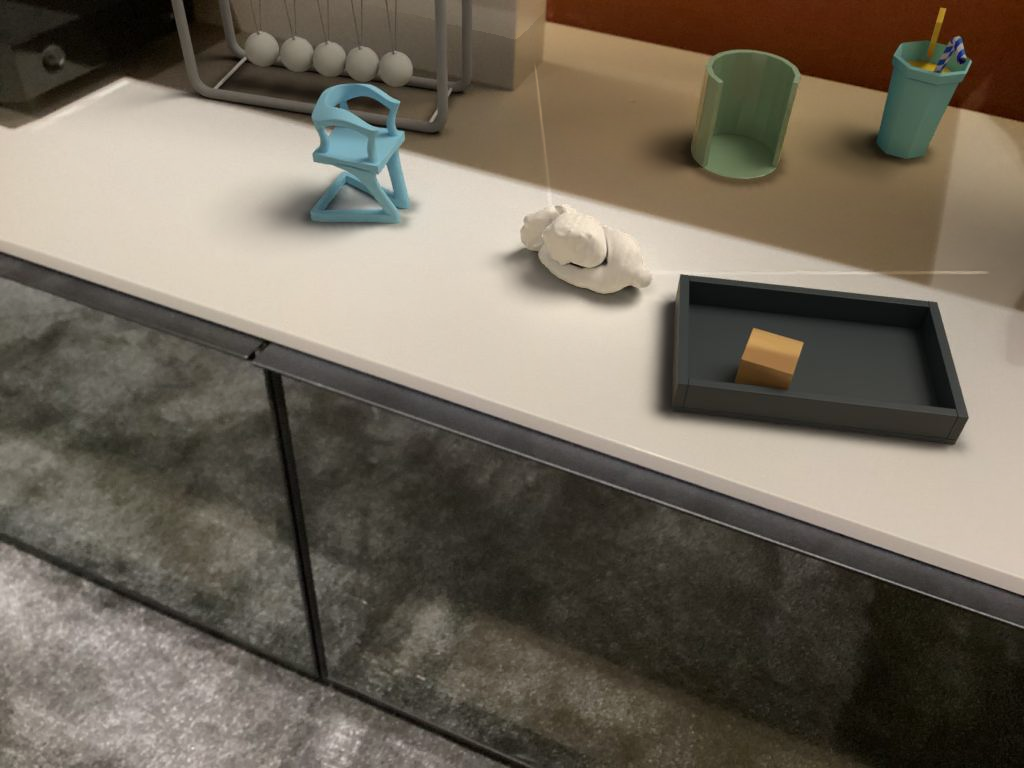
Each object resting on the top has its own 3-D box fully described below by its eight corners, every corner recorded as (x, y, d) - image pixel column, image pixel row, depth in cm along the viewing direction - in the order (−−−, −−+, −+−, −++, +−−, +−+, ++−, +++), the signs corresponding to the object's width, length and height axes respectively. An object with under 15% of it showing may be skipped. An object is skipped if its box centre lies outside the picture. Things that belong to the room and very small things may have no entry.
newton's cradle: (190, 96, 108) (153, -68, 96) (231, 55, 115) (202, -103, 103) (446, 137, 103) (443, -30, 91) (473, 92, 111) (473, -69, 98)
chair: (390, 237, 90) (381, 122, 82) (309, 220, 92) (292, 106, 83) (419, 194, 96) (414, 81, 87) (342, 178, 97) (330, 66, 89)
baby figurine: (662, 303, 85) (631, 262, 78) (538, 317, 90) (498, 280, 83) (663, 216, 88) (634, 169, 81) (543, 234, 93) (505, 192, 86)
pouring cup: (683, 136, 105) (699, 48, 98) (767, 136, 106) (788, 49, 99) (698, 183, 99) (715, 92, 92) (786, 183, 99) (811, 93, 92)
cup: (951, 193, 99) (1009, 54, 88) (874, 186, 99) (922, 47, 88) (925, 124, 108) (974, -8, 98) (856, 118, 109) (897, -14, 98)
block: (793, 374, 72) (804, 342, 75) (740, 358, 73) (753, 327, 76) (781, 411, 75) (791, 378, 78) (730, 395, 76) (743, 364, 79)
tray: (925, 329, 83) (937, 301, 81) (954, 445, 74) (969, 417, 71) (674, 301, 85) (680, 273, 83) (671, 411, 75) (677, 383, 73)
